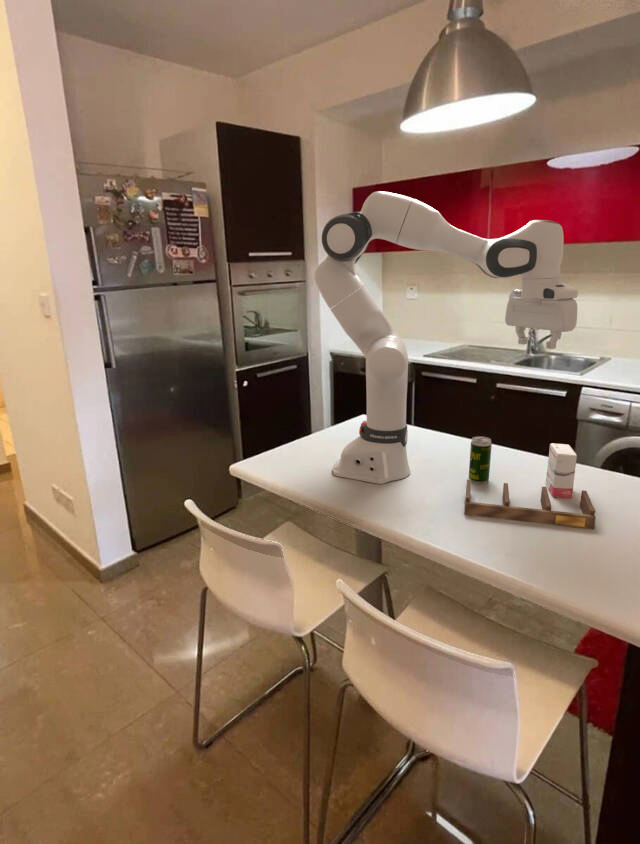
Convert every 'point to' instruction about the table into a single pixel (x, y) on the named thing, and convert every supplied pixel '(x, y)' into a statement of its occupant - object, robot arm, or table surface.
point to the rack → (533, 510)
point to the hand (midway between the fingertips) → (536, 346)
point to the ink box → (561, 470)
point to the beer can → (480, 460)
